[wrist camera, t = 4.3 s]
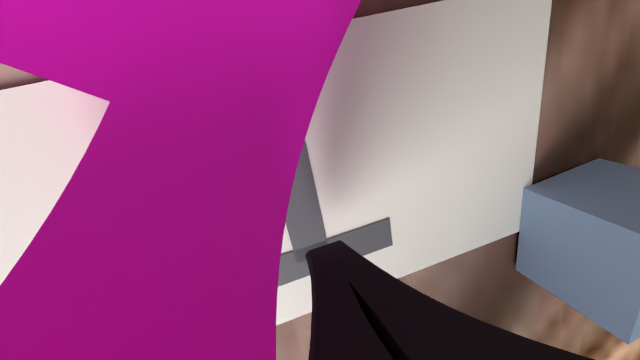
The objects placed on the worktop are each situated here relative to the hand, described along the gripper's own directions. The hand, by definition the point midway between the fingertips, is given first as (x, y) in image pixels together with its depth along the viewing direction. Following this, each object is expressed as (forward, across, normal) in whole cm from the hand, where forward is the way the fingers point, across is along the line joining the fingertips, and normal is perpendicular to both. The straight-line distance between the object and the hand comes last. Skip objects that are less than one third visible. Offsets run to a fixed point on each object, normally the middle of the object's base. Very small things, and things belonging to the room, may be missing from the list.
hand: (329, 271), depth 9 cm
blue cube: (+3, -13, +4) cm, 14 cm away
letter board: (+3, 0, -1) cm, 3 cm away
